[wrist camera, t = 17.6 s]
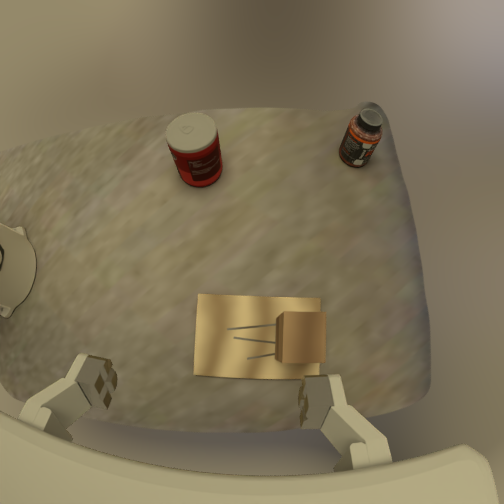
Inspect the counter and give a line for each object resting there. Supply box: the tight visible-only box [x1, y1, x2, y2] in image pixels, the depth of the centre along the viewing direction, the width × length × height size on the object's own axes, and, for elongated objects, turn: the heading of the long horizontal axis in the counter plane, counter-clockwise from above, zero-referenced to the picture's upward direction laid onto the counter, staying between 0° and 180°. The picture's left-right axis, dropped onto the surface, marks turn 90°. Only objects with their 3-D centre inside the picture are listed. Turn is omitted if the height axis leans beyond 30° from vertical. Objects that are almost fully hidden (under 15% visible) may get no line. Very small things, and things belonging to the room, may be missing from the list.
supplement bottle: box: [339, 109, 383, 167], centre depth 47 cm, size 6×6×11 cm
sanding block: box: [275, 311, 326, 363], centre depth 37 cm, size 5×6×9 cm
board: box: [194, 294, 320, 379], centre depth 42 cm, size 18×12×1 cm, turn 88°
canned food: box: [166, 113, 222, 187], centre depth 46 cm, size 8×8×11 cm
